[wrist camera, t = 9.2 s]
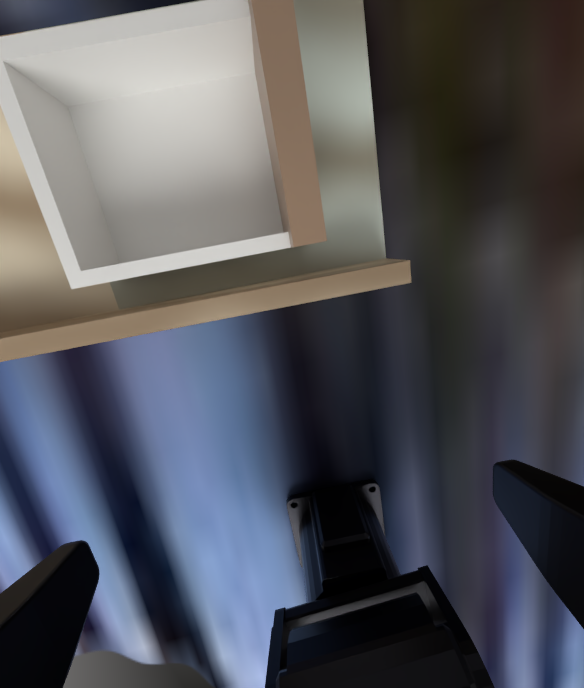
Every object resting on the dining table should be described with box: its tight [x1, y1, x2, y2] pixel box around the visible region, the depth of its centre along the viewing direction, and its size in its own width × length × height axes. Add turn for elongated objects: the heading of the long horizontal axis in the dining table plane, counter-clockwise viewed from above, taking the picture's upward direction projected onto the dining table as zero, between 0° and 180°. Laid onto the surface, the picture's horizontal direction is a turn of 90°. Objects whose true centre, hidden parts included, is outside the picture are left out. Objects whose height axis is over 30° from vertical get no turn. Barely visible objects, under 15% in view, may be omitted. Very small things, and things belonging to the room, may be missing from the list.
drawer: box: [0, 0, 327, 289], centre depth 13 cm, size 8×10×6 cm
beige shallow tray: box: [0, 0, 411, 362], centre depth 14 cm, size 13×27×4 cm, turn 100°
